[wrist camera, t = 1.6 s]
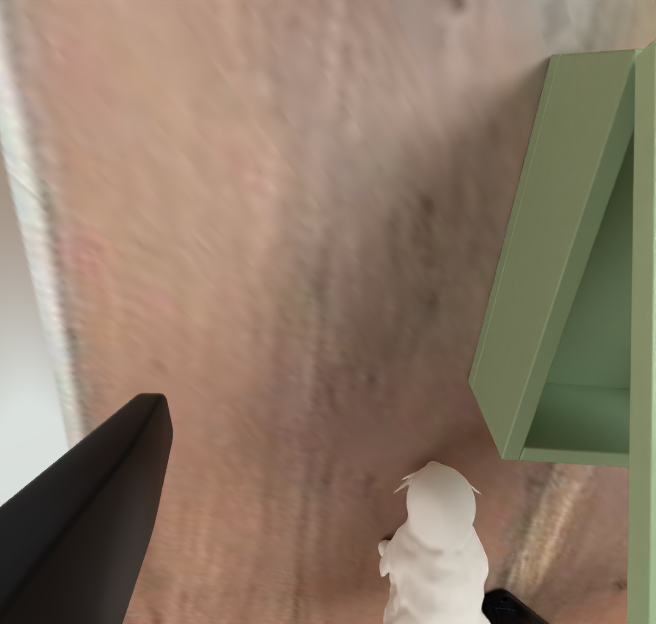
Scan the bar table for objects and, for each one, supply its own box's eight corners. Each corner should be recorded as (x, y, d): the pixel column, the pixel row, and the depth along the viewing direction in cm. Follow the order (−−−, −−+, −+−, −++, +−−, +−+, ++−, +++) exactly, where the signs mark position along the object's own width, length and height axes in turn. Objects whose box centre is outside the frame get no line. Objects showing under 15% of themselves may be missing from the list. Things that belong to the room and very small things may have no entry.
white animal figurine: (385, 721, 25) (396, 556, 20) (373, 577, 33) (379, 436, 28) (504, 723, 25) (542, 558, 20) (463, 578, 33) (484, 436, 28)
